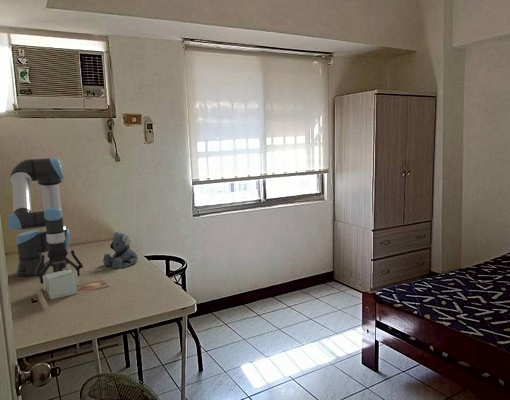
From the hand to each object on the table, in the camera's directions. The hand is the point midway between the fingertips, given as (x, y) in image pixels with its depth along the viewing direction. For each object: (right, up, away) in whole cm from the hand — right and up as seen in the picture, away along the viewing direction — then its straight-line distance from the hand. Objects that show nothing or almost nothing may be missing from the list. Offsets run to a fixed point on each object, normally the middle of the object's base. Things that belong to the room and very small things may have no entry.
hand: (61, 286), depth 189 cm
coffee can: (-6, -4, +11) cm, 13 cm away
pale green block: (0, -3, 0) cm, 3 cm away
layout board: (+6, -4, +4) cm, 8 cm away
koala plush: (+13, +2, +49) cm, 51 cm away
